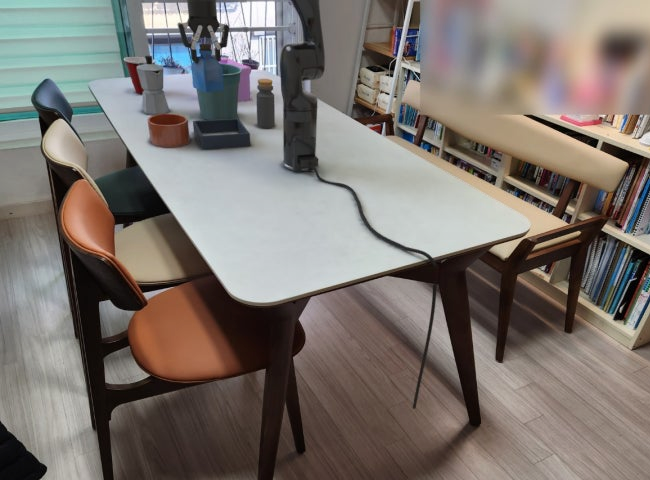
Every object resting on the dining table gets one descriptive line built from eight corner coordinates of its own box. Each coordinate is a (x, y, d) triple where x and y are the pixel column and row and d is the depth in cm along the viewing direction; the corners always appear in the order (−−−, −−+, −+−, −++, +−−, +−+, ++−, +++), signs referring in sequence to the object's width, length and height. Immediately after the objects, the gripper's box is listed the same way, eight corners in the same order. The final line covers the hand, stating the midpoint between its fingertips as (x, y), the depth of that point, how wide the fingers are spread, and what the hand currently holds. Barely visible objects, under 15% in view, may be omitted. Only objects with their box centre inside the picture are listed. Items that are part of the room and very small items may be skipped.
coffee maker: (176, 114, 180) (170, 59, 170) (151, 118, 174) (143, 61, 164) (157, 102, 188) (150, 49, 178) (133, 106, 183) (124, 51, 173)
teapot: (182, 95, 199) (178, 55, 191) (242, 88, 213) (240, 51, 205) (201, 106, 189) (197, 65, 182) (261, 98, 204) (260, 60, 196)
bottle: (276, 124, 181) (276, 79, 172) (272, 129, 176) (271, 83, 168) (260, 122, 181) (258, 77, 173) (255, 127, 176) (253, 81, 168)
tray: (250, 146, 162) (249, 133, 160) (202, 149, 156) (201, 136, 154) (239, 130, 173) (238, 118, 170) (193, 133, 167) (192, 120, 165)
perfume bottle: (211, 84, 159) (207, 41, 152) (223, 89, 156) (220, 46, 149) (193, 87, 155) (189, 43, 148) (206, 92, 152) (202, 48, 145)
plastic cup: (166, 93, 199) (162, 59, 192) (142, 98, 191) (136, 63, 184) (147, 86, 203) (142, 53, 196) (122, 91, 195) (116, 57, 189)
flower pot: (234, 107, 192) (231, 61, 183) (251, 121, 181) (249, 73, 172) (188, 111, 184) (183, 63, 175) (203, 126, 173) (199, 75, 164)
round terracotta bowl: (192, 145, 158) (190, 124, 154) (153, 148, 154) (149, 126, 150) (186, 133, 166) (184, 112, 163) (148, 135, 162) (145, 114, 158)
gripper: (175, -2, 136) (182, 66, 146) (231, 0, 142) (234, 65, 151) (171, -7, 142) (178, 59, 151) (225, -4, 147) (228, 59, 157)
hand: (206, 62), depth 151 cm, fingers closed on perfume bottle, 5 cm apart
